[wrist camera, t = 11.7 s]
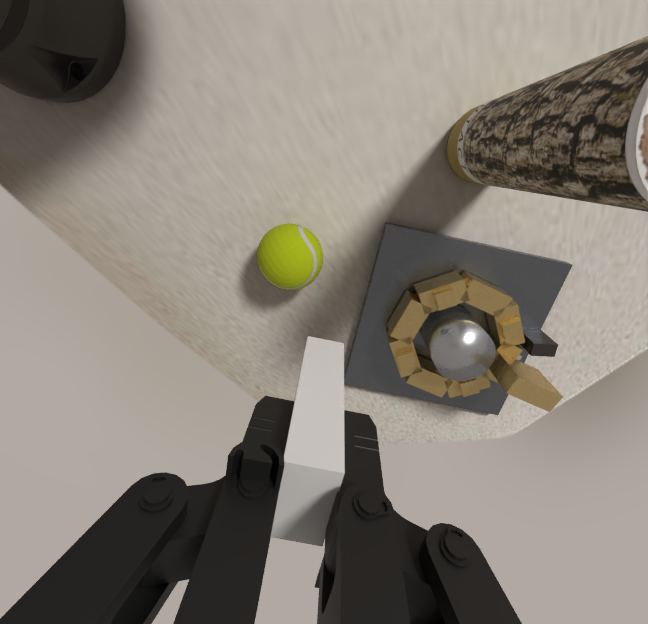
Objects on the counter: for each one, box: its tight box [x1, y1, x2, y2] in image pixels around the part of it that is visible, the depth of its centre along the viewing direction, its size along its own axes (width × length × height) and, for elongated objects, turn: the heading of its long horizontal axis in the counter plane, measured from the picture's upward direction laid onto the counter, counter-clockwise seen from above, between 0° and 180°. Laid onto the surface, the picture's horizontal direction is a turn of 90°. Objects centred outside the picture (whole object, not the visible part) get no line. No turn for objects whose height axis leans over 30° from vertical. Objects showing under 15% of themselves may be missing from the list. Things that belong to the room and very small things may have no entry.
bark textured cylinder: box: [447, 36, 648, 212], centre depth 23 cm, size 7×7×25 cm
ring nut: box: [386, 271, 563, 412], centre depth 37 cm, size 16×13×8 cm
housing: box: [344, 223, 572, 415], centre depth 39 cm, size 20×20×7 cm
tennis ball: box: [257, 224, 323, 290], centre depth 37 cm, size 7×7×7 cm
